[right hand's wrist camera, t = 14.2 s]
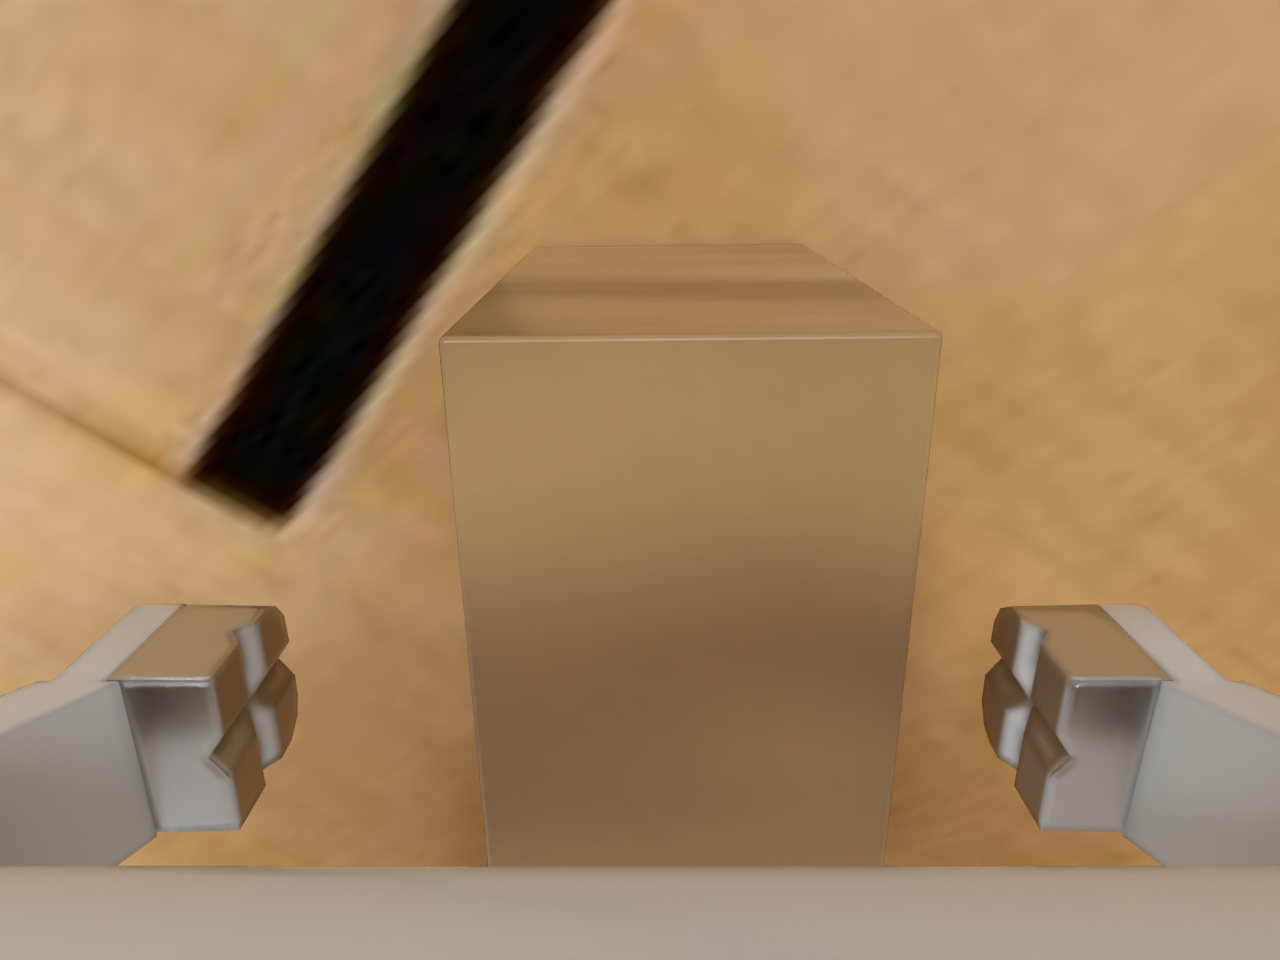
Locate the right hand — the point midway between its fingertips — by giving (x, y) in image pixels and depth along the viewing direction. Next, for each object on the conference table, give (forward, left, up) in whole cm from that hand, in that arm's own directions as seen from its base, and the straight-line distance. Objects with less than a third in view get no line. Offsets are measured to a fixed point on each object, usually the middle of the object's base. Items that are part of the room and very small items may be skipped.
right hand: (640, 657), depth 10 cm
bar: (-2, +9, -10) cm, 14 cm away
